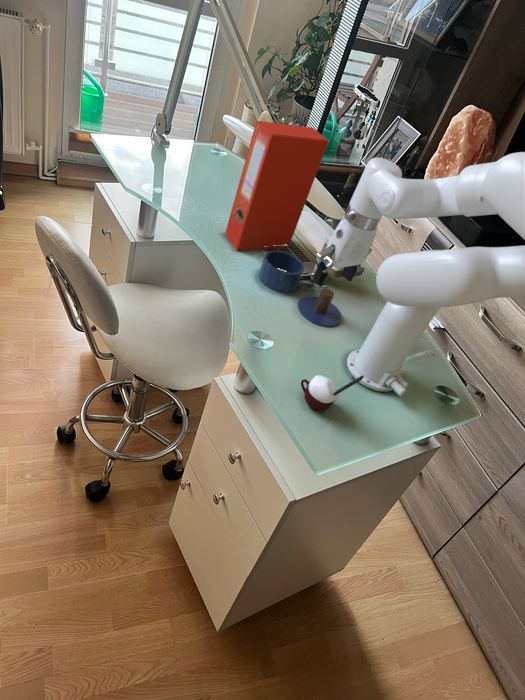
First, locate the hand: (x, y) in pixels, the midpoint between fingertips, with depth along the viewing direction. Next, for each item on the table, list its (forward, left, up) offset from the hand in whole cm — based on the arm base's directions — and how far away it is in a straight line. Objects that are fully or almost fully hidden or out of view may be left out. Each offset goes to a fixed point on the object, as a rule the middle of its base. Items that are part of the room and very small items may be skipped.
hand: (331, 280), depth 119 cm
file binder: (+32, -3, -10) cm, 33 cm away
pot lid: (0, 0, -9) cm, 9 cm away
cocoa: (-24, +21, -10) cm, 34 cm away
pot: (+14, +3, -10) cm, 17 cm away
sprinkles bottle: (+12, -10, -10) cm, 18 cm away
